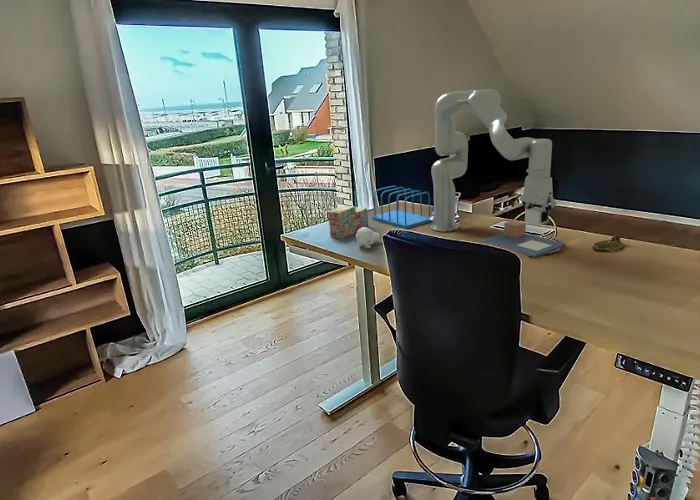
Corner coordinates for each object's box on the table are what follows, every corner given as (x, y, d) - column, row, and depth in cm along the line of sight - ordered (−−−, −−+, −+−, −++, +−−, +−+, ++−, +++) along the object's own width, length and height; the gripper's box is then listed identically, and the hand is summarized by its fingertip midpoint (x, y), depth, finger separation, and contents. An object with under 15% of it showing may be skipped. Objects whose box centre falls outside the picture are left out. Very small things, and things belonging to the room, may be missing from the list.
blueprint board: (479, 242, 195) (479, 240, 194) (510, 232, 205) (510, 229, 204) (533, 258, 174) (533, 255, 173) (565, 246, 184) (566, 243, 184)
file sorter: (372, 219, 239) (371, 190, 234) (398, 213, 248) (397, 184, 243) (405, 229, 219) (405, 197, 214) (432, 221, 229) (432, 190, 224)
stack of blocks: (358, 225, 232) (356, 200, 228) (368, 226, 228) (367, 201, 224) (330, 237, 216) (328, 211, 212) (340, 239, 212) (338, 212, 208)
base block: (524, 222, 182) (525, 209, 180) (534, 219, 185) (535, 206, 183) (538, 225, 177) (539, 212, 175) (548, 222, 180) (549, 209, 178)
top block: (503, 234, 199) (504, 223, 198) (513, 231, 202) (513, 220, 201) (515, 237, 194) (516, 226, 193) (525, 234, 198) (525, 223, 196)
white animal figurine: (354, 227, 197) (372, 223, 205) (354, 247, 199) (372, 242, 207) (365, 229, 192) (384, 225, 201) (365, 250, 195) (383, 244, 203)
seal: (609, 258, 173) (629, 248, 181) (612, 246, 171) (632, 236, 179) (584, 249, 180) (605, 240, 188) (587, 238, 178) (608, 229, 186)
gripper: (513, 172, 180) (511, 218, 186) (554, 177, 166) (550, 226, 172) (525, 169, 184) (523, 214, 189) (566, 173, 170) (563, 222, 176)
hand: (536, 219), depth 181 cm, fingers closed on base block, 6 cm apart
